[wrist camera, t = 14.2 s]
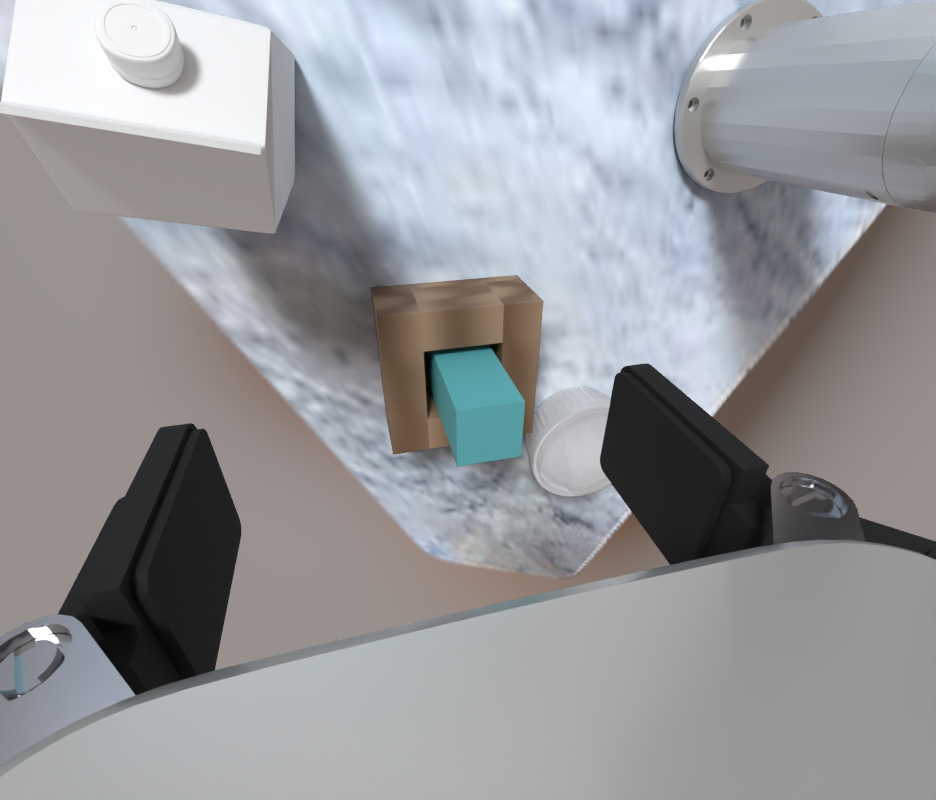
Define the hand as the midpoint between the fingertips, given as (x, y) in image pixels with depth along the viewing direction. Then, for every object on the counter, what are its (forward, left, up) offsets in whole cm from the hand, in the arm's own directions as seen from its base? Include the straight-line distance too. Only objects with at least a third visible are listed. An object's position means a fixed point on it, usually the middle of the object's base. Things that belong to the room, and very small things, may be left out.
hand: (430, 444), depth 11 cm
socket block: (-6, +12, -28) cm, 31 cm away
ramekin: (-18, +22, -29) cm, 41 cm away
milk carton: (+7, -6, -28) cm, 30 cm away
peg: (-6, +12, -27) cm, 30 cm away
